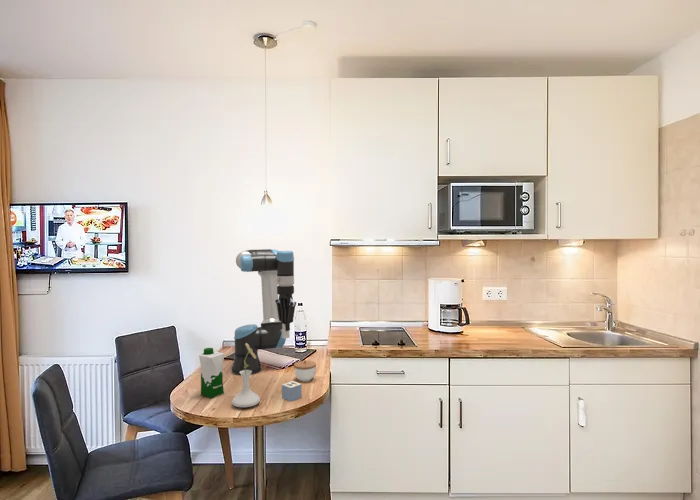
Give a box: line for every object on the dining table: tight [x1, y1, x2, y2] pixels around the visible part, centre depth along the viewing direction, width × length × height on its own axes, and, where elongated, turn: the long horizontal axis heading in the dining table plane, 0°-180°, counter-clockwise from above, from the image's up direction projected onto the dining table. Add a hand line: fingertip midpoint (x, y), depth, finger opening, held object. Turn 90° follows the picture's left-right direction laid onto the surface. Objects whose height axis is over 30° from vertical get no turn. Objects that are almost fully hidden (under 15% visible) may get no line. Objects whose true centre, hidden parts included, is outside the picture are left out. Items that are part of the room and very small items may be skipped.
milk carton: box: [198, 347, 225, 399], centre depth 182 cm, size 9×9×20 cm
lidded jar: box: [293, 360, 317, 383], centre depth 201 cm, size 11×11×9 cm
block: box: [281, 380, 303, 402], centre depth 178 cm, size 6×6×6 cm
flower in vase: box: [231, 343, 261, 408], centre depth 171 cm, size 13×11×25 cm
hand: (286, 337), depth 184 cm, fingers closed
